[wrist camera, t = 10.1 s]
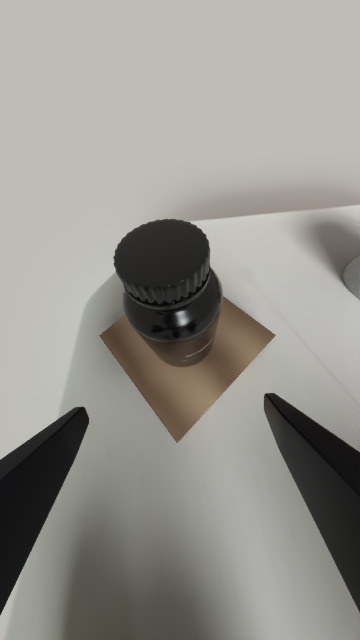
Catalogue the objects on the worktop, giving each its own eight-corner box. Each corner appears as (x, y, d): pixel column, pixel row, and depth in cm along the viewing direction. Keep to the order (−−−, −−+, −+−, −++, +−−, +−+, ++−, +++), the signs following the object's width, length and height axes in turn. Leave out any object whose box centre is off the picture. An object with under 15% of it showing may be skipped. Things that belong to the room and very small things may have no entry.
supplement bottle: (205, 377, 17) (211, 330, 6) (143, 357, 18) (61, 293, 8) (220, 317, 19) (243, 210, 9) (165, 304, 21) (126, 202, 10)
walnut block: (181, 436, 17) (177, 443, 15) (111, 343, 23) (99, 335, 20) (266, 344, 20) (275, 335, 18) (186, 281, 26) (184, 267, 23)
